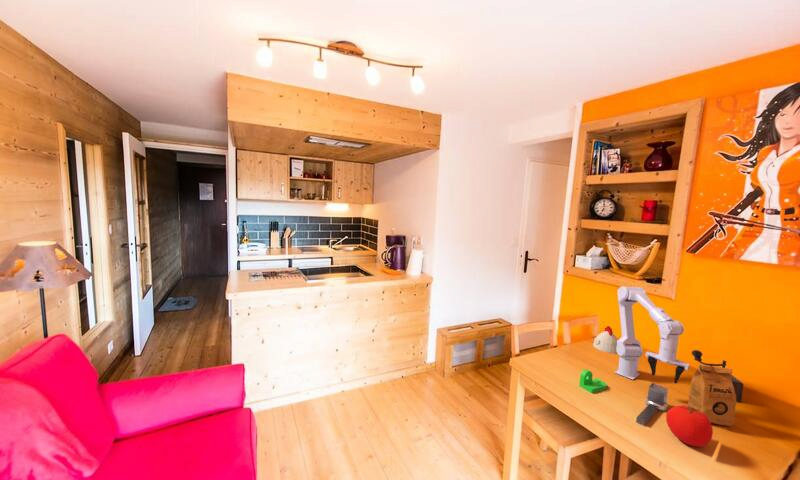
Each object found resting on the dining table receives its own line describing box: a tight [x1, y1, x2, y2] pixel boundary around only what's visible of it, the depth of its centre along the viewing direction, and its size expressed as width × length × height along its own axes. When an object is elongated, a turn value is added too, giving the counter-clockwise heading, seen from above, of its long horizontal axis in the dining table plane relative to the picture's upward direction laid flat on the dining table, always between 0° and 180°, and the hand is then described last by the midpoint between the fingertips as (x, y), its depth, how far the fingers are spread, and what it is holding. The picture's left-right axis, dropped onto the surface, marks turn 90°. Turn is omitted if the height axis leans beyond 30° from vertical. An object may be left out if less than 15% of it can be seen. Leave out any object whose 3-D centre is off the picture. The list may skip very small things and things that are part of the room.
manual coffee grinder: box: [691, 349, 744, 404], centre depth 147 cm, size 16×11×18 cm
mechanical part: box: [578, 368, 607, 394], centre depth 148 cm, size 12×6×8 cm, turn 114°
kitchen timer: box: [592, 325, 619, 355], centre depth 190 cm, size 14×14×15 cm
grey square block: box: [647, 382, 669, 406], centre depth 135 cm, size 5×5×6 cm
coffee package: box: [687, 364, 737, 427], centre depth 127 cm, size 10×12×22 cm
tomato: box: [665, 404, 714, 448], centre depth 114 cm, size 12×12×13 cm
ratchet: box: [635, 396, 668, 426], centre depth 130 cm, size 24×7×5 cm, turn 128°
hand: (664, 378), depth 139 cm, fingers open, 7 cm apart
